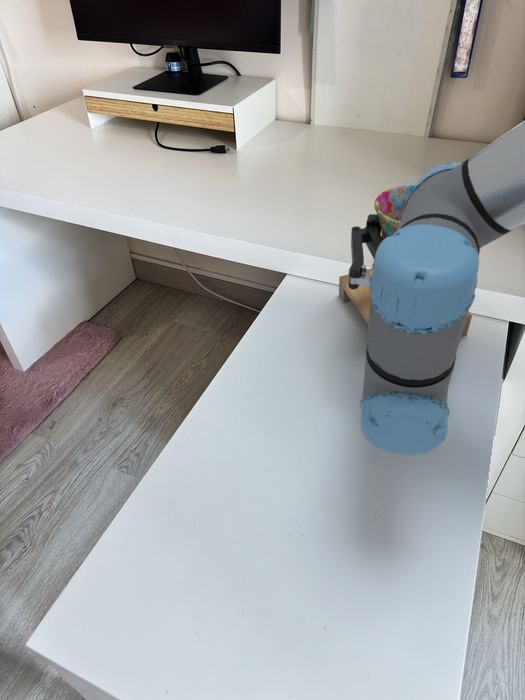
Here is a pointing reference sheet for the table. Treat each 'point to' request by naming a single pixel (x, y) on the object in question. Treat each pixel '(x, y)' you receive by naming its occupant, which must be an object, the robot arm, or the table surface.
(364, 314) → the shelf
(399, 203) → the mug
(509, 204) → the robot arm
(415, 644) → the table surface
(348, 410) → the table surface
